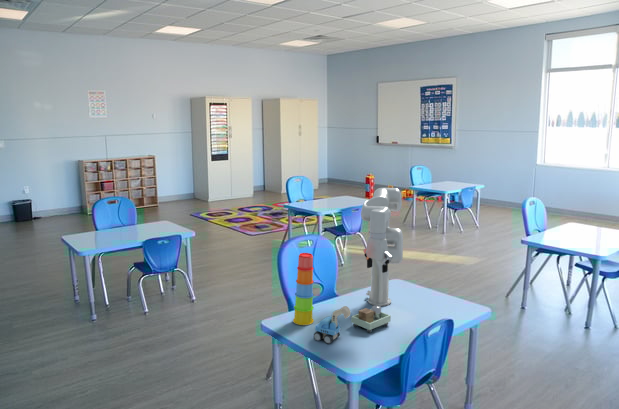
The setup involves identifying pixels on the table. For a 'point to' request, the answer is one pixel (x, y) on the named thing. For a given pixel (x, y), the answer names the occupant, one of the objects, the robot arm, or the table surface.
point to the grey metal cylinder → (376, 312)
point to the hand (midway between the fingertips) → (377, 269)
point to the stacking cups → (304, 290)
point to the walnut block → (366, 315)
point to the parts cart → (369, 326)
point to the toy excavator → (330, 326)
